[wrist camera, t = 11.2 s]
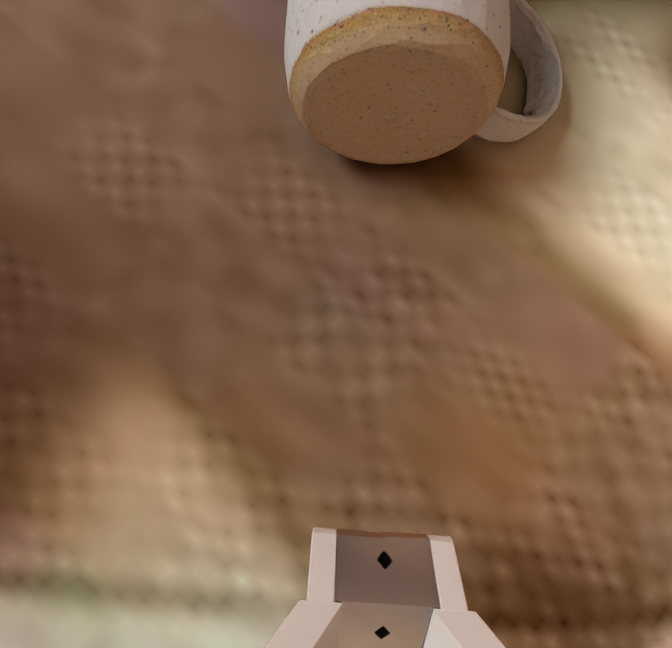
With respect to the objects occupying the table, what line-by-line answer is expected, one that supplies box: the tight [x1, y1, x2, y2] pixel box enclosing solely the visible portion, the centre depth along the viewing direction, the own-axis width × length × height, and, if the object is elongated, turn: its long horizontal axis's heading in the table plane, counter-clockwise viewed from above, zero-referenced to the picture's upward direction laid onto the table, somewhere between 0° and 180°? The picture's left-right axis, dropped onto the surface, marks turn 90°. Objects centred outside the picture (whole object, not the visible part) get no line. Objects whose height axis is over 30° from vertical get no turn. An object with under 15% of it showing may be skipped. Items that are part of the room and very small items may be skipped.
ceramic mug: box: [284, 0, 563, 164], centre depth 17 cm, size 11×8×8 cm
